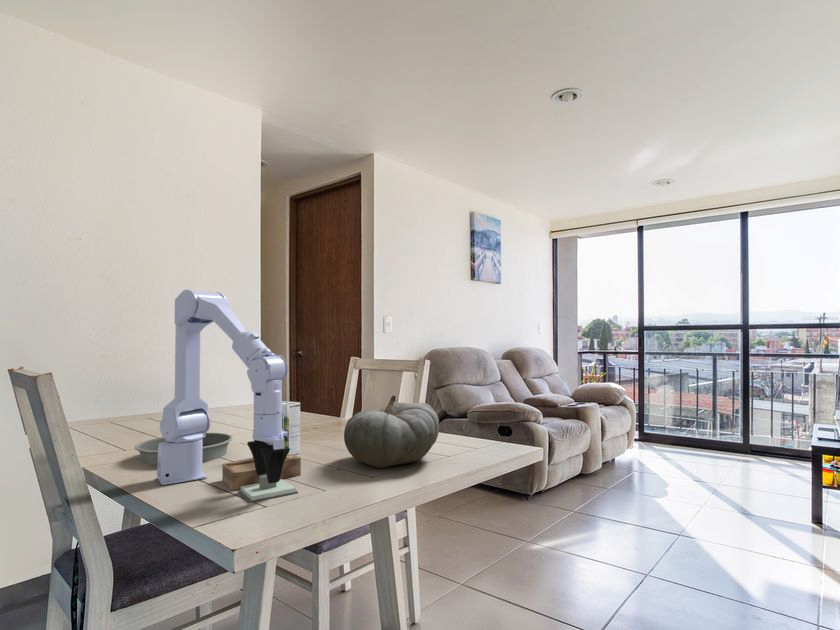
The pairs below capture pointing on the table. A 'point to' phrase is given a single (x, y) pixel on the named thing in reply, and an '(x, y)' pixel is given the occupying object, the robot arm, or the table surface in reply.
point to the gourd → (392, 434)
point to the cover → (267, 489)
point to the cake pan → (211, 448)
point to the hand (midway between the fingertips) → (267, 478)
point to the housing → (247, 475)
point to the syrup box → (291, 426)
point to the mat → (262, 498)
